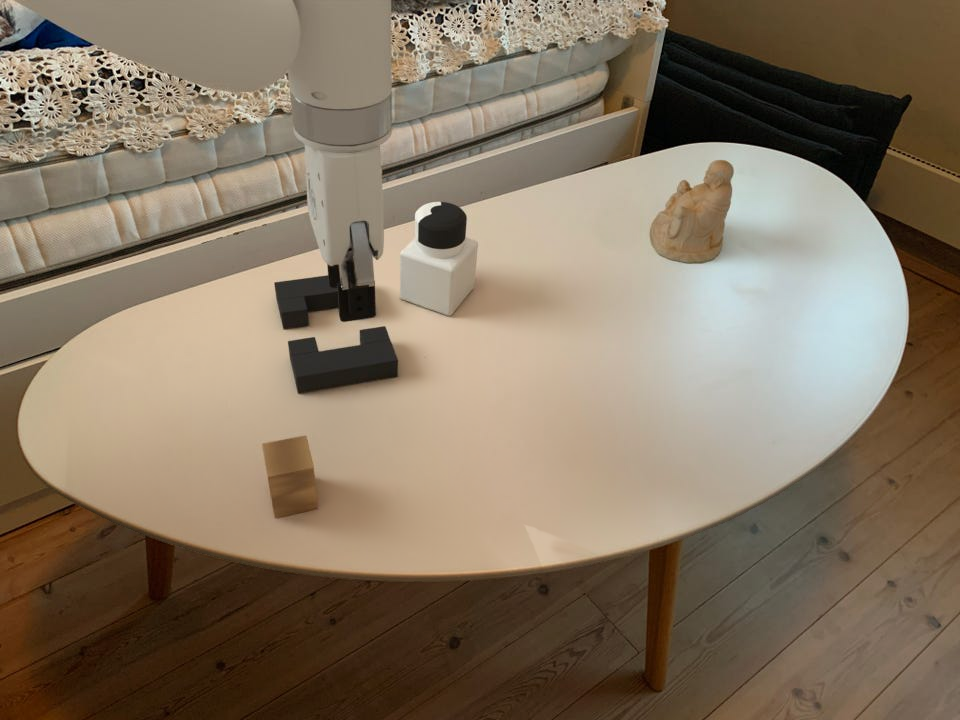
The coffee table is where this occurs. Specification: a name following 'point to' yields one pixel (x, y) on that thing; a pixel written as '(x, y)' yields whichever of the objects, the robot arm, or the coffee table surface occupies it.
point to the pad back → (304, 299)
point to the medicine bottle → (438, 259)
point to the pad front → (343, 361)
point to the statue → (695, 217)
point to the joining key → (290, 476)
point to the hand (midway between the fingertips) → (351, 299)
